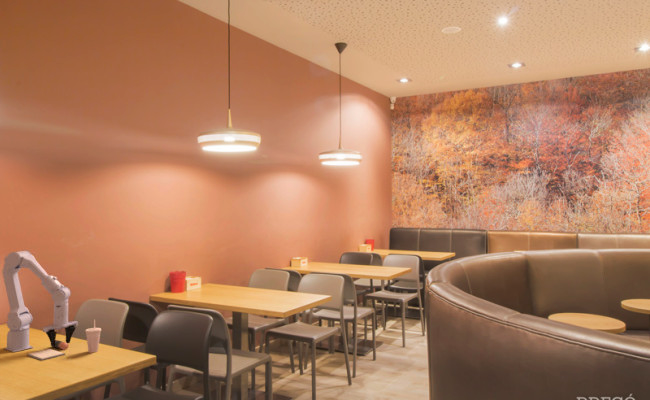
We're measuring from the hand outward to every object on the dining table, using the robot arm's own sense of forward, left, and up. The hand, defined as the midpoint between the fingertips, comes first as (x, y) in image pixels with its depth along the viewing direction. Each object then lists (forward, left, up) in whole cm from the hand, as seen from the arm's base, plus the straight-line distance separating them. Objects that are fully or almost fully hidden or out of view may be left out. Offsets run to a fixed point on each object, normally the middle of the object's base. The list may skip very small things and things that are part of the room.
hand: (60, 344), depth 206 cm
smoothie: (+18, +5, -2) cm, 19 cm away
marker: (0, 0, -1) cm, 1 cm away
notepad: (+6, -9, -1) cm, 11 cm away
